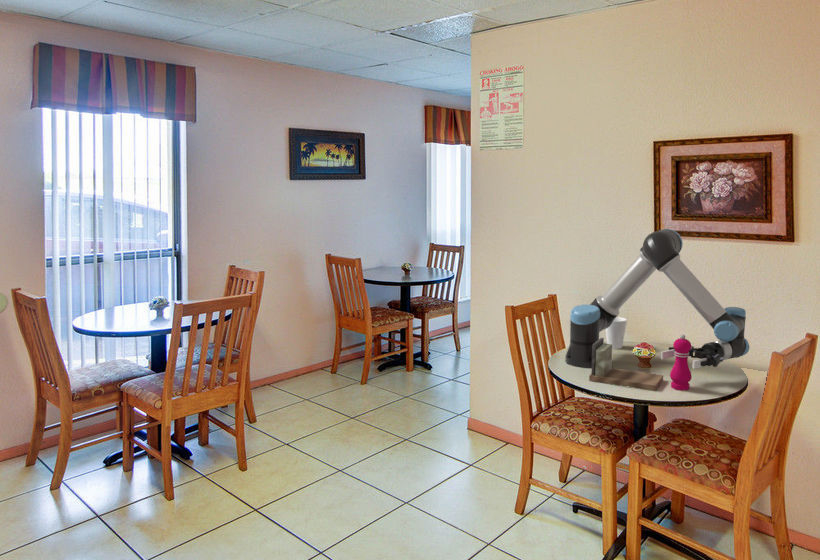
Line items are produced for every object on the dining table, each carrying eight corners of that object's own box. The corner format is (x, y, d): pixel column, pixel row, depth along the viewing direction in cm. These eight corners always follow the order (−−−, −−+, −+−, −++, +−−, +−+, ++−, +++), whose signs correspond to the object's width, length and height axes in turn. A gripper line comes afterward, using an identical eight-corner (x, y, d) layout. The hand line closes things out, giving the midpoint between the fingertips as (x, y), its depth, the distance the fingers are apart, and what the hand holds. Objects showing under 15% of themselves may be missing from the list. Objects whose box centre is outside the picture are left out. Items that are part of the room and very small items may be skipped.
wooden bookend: (589, 380, 242) (590, 345, 240) (599, 371, 254) (600, 336, 251) (655, 391, 229) (657, 353, 227) (663, 380, 241) (664, 344, 239)
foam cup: (608, 343, 295) (608, 315, 293) (628, 346, 289) (629, 318, 287) (601, 348, 287) (601, 319, 285) (621, 350, 282) (622, 322, 280)
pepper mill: (665, 385, 236) (668, 332, 232) (684, 384, 236) (687, 331, 233) (675, 391, 228) (678, 337, 225) (694, 390, 229) (697, 336, 226)
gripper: (746, 369, 229) (706, 379, 219) (686, 353, 251) (648, 361, 241) (747, 349, 228) (708, 358, 218) (688, 335, 249) (649, 342, 239)
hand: (677, 360), depth 229 cm, fingers open, 13 cm apart
